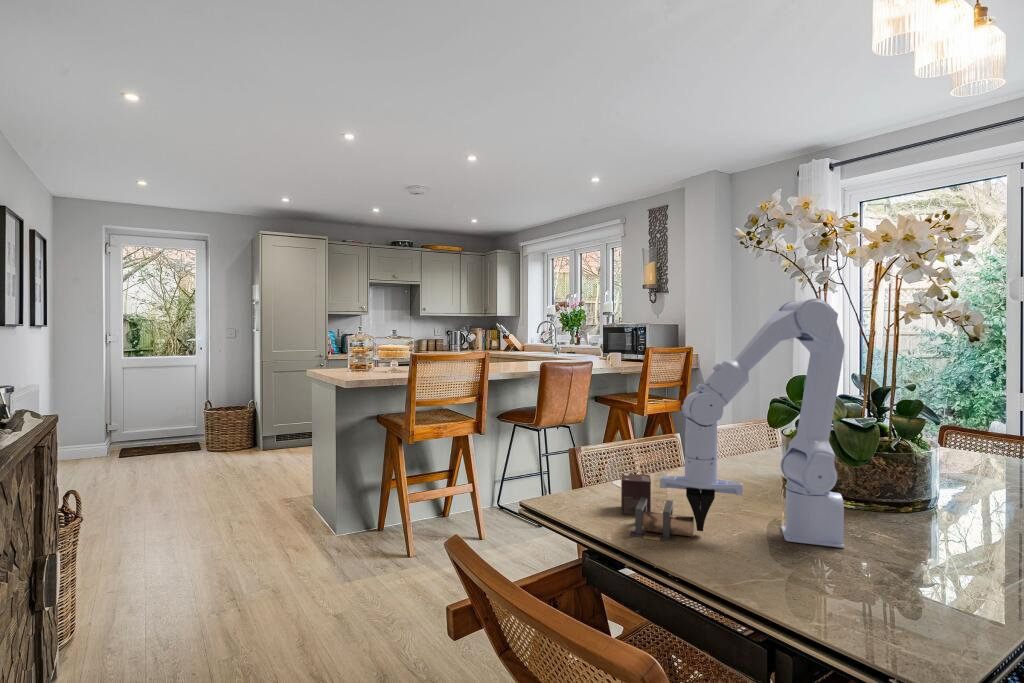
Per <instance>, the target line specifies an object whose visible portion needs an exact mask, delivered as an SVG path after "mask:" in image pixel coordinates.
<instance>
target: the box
mask: <svg viewBox="0 0 1024 683" xmlns="http://www.w3.org/2000/svg"><path fill="white" fill-rule="evenodd" d="M651 480H652V479H651V475H650V474H641V473H640V474H639V473H638V474H635V473H621V490H620V491H621V497H620V498H621V500H620V501H621V506H620V507H621V509H620V510H621V514H622V515H626V516H627V515H628V516H635V509H636V507H637V504H638V502H639V500H640V498H647V512H652V510H651V509H652V508H651V506H652V505H651V503H652V502H651V499H652V497H651V496H652V487H651V486H652V482H651Z"/></svg>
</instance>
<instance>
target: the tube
mask: <svg viewBox="0 0 1024 683" xmlns="http://www.w3.org/2000/svg"><path fill="white" fill-rule="evenodd" d="M694 528H695V517H694V516H689V515H681V514H674V513H673V514H670V535H673V536H674V535H675V536H676V535H677V536H683V537H692V538H693V537H694V533H695V532H694V531H695V530H694ZM643 532H650V533H658V534H663V512H662V513H661V512H654V511H651V512H646V511H645V512H644V517H643Z"/></svg>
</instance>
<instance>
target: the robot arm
mask: <svg viewBox="0 0 1024 683" xmlns="http://www.w3.org/2000/svg"><path fill="white" fill-rule="evenodd" d="M838 318H839V313H838V312H837V311H836V310H835V309H834V308H833V307H832V306H831V305H830V304H829V303H828V302H827V301H825V300H823V299H821V298H816V297H815V298H809V299H807V300H790V301H786V302H785V303H783V304H782V305H781V306H780V307H779V309H778V310H777V311H775V312H774V313H772V314H771V315H770V316H769V318H768V319H767V321H766V322H765V323H764V324H763V326H761V327H760V329H759V330H758V331H757V333H755V335H754V336H753V337H752V338H751V339H750V341H749V342H748V343H747V344H746V345H745V347H744V348H743V349H742V350H741V351H740V352H739V353H738V354H737V356H736V357H735V358H734V359H733V360H723V361H722V363H716V364H715V365H714V366H713V367H712V370H714V371H713V372H712V373H711V374H710V375H709V376H707V378H706V379H705V380H704V381H703V383H702V384H701V383H698V385H696V386H695V388H696V390H697V391H694V392H691V393H688V394H687V396H686V397H685V398H684V400H683V404H681V406H680V407H681V408H680V409H681V412H682V414H683V415H684V417H685V432H684V475H683V476H682V475H681V476H679V475H661V476H660V477H659V479H660V480H659V484H660V485H659V488H660V489H678V490H686V491H685V497H686V499H687V501H688V503H689V505H690V508H691V510H692V513H693V517H694V522H695V525H696V531H698V532H703V531H704V525H705V522H706V519H707V515H708V512H709V510H710V507H711V506H712V504H713V502H714V501H715V498H716V493H718V494H719V493H722V494H729V495H730V494H731V495H736V496H741V497H742V496H743V491H744V490H743V485H744V484H743V482H739V481H738V482H737V481H730V480H726V479H720V478H719V479H718V421H719V420H721V419H722V417H723V415H724V407H726V406H728V405H729V403H730V402H731V401H732V400H733V399H734V398H735V397H736V396H737V395H738V394H739V393H740V391H741V390H742V389H743V388H744V387H745V386H746V385H747V384H748V383H749V380H750V378H749V377H750V376H749V374H750V371H751V370H752V369H753V368H754V367H755V366H756V365H757V364H758V363H760V361H762V359H763V358H764V357H766V356H767V355H768V354H769V353H770V352H771V351H772V350H773V349H774V348H775V347H776V346H777V345H778V344H779V343H780V342H783V341H787V340H791V339H796V340H798V341H799V342H800V343H801V344H802V345H803V347H804V348H805V349H806V350H808V352H809V360H808V365H807V371H806V376H805V382H804V388H803V395H802V401H801V405H800V406H801V407H800V414H799V417H798V418H799V419H798V425H797V431H796V434H795V436H793V438H792V439H791V440H790V441H789V442H788V446H787V447H788V448H787V450H786V452H785V454H784V455H783V456H782V458H781V461H780V470H781V473H782V475H783V476H784V477H785V478H786V484H785V525H781V526H780V527H781V528H780V529H781V532H782V535H783V537H784V541H786V542H792V543H799V544H808V545H817V546H824V547H834V548H841V549H842V548H845V544H844V538H845V537H844V531H845V530H844V528H845V527H844V526H845V523H844V522H845V521H844V520H845V519H844V518H845V507H844V499H843V496H842V494H841V493H839V492H833V491H831V490H832V489H834V487H835V485H836V483H837V482H838V481H837V480H838V472H837V470H836V469H837V468H836V466H835V465H836V464H835V460H836V459H835V458H836V454H835V452H834V450H833V447H832V446H831V444H830V436H831V430H832V426H833V425H832V424H833V419H834V412H835V406H836V403H837V402H836V401H837V400H836V399H837V394H838V389H839V382H840V377H841V371H842V364H843V359H844V353H845V342H844V339H843V337H842V333H841V331H840V327H839V324H838Z"/></svg>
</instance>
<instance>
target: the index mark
mask: <svg viewBox="0 0 1024 683" xmlns="http://www.w3.org/2000/svg"><path fill="white" fill-rule="evenodd" d="M657 537H658V536H650V535H647V536H643V537H642V539H645V540H651V541H659V542H660V541H661V539H660V538H657Z"/></svg>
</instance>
